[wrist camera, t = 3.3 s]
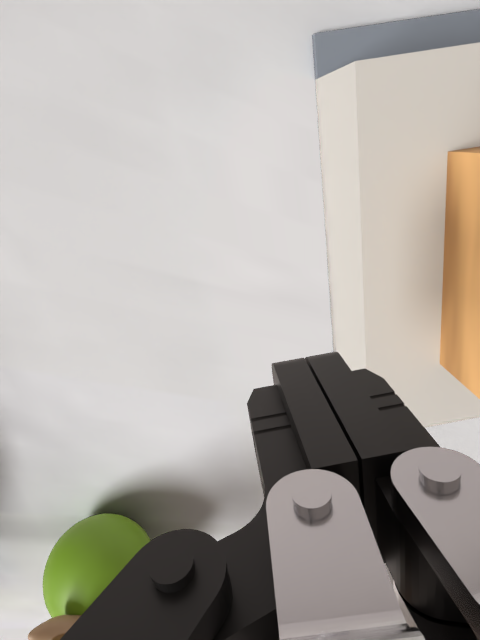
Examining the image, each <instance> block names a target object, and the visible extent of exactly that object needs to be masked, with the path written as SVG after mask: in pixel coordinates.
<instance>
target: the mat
mask: <svg viewBox="0 0 480 640" xmlns="http://www.w3.org/2000/svg"><path fill="white" fill-rule="evenodd" d="M312 39H313V54H314V69H315V80H316V79H318V78H320V77H322V76H324V75H327V74H329V73H331V72H333V71H335V70H337V69H339V68H342V67H344V66H346V65H348V64H350V63H352V62H354V61H359V60H366V59H372V58H379V57H386V56H392V55H399V54H406V53H412V52H419V51H426V50H432V49H439V48H445V47H452V46H459V45H465V44H472V43H479V42H480V9H476V10H469V11H462V12H456V13H449V14H442V15H435V16H428V17H421V18H415V19H408V20H401V21H394V22H387V23H381V24H374V25H367V26H360V27H353V28H347V29H340V30H333V31H326V32H319V33H315V34H313V35H312ZM335 347H336V346H335ZM335 351H336V348H335Z"/></svg>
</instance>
